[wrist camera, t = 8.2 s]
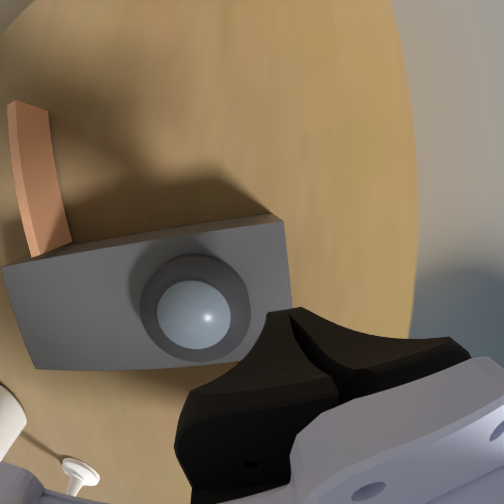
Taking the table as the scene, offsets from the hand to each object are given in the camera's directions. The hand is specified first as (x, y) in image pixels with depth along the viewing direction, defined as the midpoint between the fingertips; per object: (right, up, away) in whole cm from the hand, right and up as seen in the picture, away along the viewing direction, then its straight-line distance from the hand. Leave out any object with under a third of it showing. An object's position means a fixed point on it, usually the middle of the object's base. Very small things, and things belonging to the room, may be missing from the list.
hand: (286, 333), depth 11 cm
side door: (-16, +8, +7) cm, 19 cm away
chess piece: (-21, -23, +13) cm, 34 cm away
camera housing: (-8, +1, +9) cm, 12 cm away
